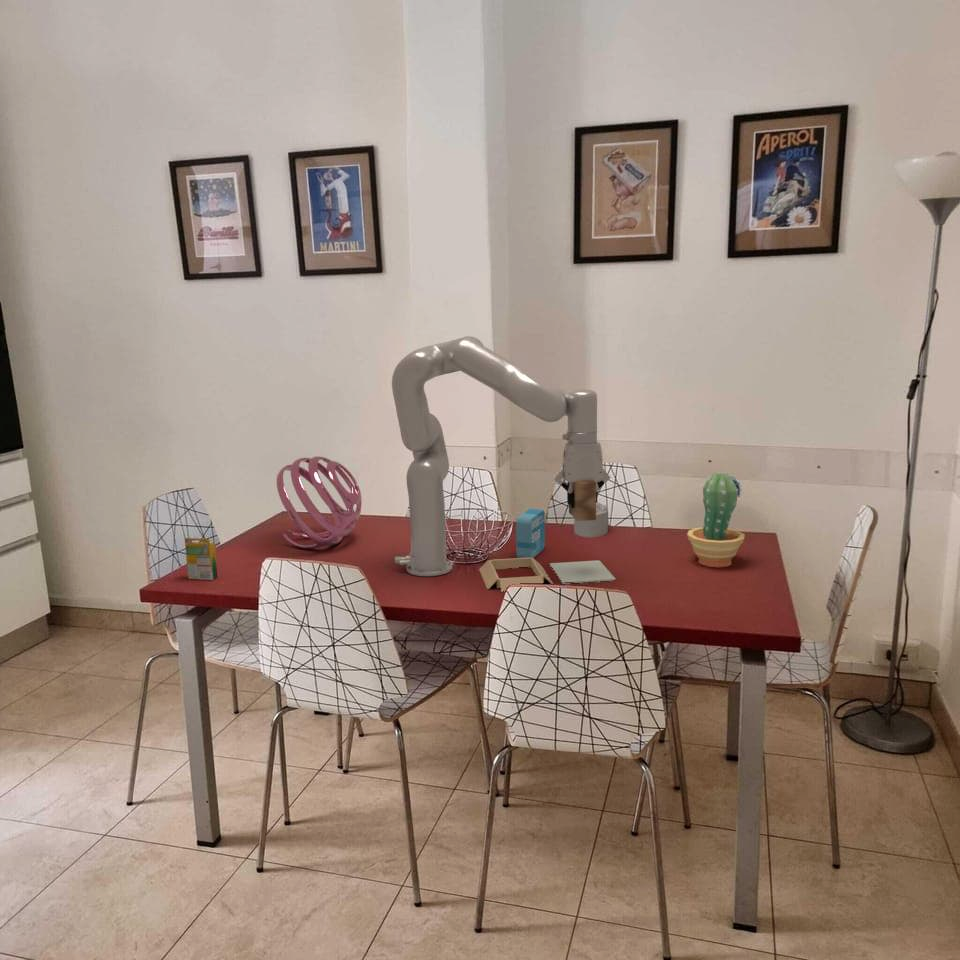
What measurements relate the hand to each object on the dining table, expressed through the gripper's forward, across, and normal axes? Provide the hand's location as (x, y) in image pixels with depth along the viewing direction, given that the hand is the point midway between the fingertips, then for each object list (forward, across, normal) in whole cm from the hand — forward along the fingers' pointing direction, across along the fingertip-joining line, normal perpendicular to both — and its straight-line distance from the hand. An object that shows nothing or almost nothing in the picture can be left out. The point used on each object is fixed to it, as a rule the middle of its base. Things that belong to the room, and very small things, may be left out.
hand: (582, 505), depth 232 cm
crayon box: (+19, -101, +16) cm, 104 cm away
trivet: (+19, 0, 0) cm, 19 cm away
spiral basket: (+19, -70, +42) cm, 84 cm away
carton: (+19, -18, 0) cm, 26 cm away
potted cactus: (+19, +38, +2) cm, 42 cm away
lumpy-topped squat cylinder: (+19, +12, +39) cm, 45 cm away
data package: (+19, -10, +20) cm, 29 cm away
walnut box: (+3, 0, 0) cm, 3 cm away
